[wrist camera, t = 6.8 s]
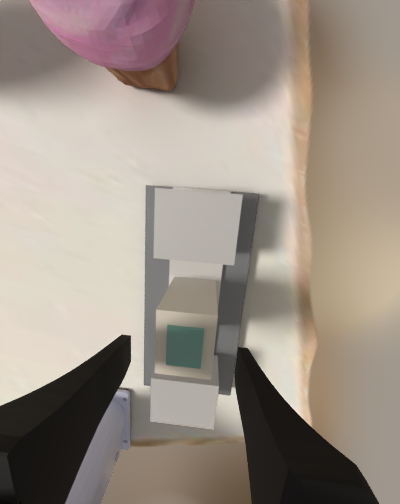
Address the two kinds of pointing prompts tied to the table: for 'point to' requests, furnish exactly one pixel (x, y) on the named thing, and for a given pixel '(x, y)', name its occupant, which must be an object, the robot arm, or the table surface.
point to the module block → (186, 328)
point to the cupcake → (122, 35)
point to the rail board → (196, 267)
